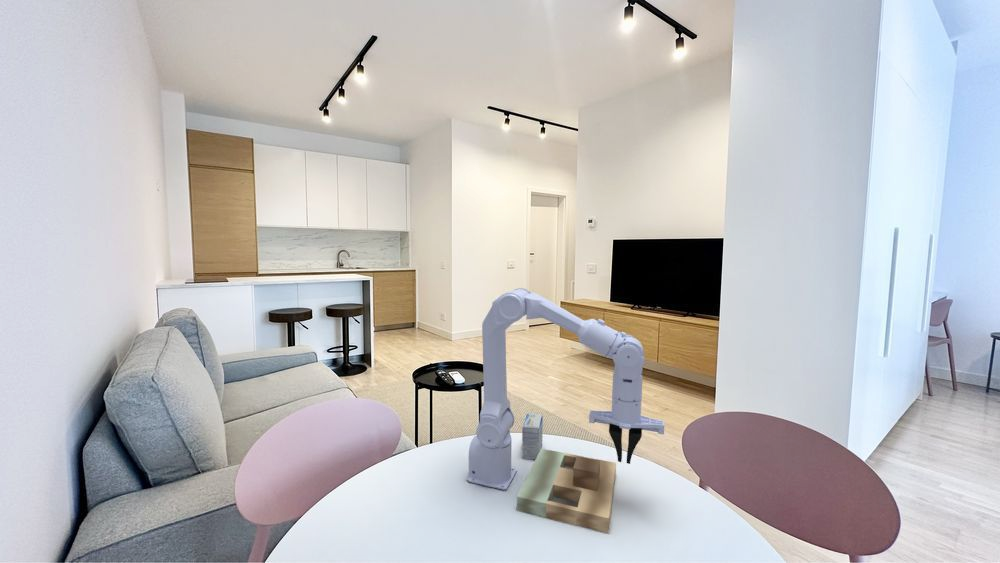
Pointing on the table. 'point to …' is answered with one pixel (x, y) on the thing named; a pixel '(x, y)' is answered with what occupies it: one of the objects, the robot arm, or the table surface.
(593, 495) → the board
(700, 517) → the table surface
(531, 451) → the medicine box
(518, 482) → the table surface
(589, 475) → the walnut block
